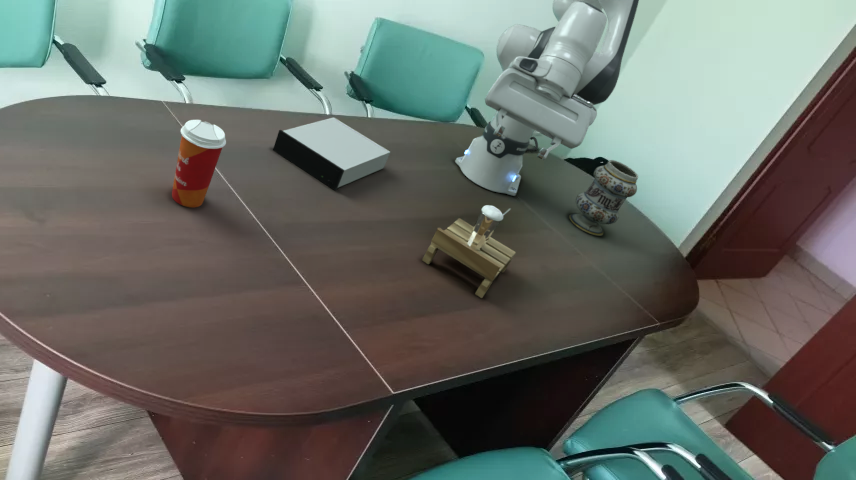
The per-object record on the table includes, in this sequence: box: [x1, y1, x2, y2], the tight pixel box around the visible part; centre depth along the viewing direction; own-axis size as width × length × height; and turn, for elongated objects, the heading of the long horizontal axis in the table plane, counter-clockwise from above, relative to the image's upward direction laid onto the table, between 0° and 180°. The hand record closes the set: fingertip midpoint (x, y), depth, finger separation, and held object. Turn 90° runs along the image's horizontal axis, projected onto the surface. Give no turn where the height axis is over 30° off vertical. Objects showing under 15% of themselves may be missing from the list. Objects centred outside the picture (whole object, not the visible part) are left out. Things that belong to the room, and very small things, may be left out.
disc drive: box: [272, 116, 391, 191], centre depth 154 cm, size 18×22×5 cm
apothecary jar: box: [569, 159, 639, 237], centre depth 176 cm, size 12×12×18 cm
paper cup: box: [171, 119, 227, 208], centre depth 117 cm, size 8×8×14 cm
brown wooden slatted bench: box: [421, 217, 516, 299], centre depth 137 cm, size 17×14×8 cm
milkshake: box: [467, 204, 512, 251], centre depth 133 cm, size 4×5×10 cm
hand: (518, 146), depth 128 cm, fingers open, 8 cm apart
